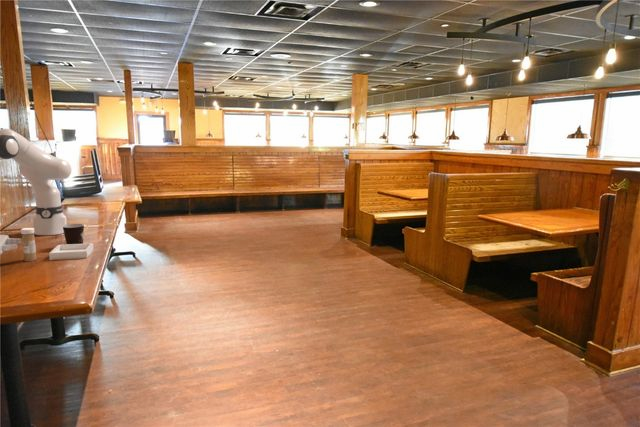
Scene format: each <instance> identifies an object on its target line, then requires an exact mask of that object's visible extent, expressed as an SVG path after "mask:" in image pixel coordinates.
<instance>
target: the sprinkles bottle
mask: <svg viewBox="0 0 640 427" xmlns="http://www.w3.org/2000/svg"><path fill="white" fill-rule="evenodd" d="M20 233H21V242H22V252H23V261H25V262H32V261H36V260H37V247H36V241H35V240H36V239H35V234H34V228H33V227H24V228H23V227H22V228H21V229H20Z"/></svg>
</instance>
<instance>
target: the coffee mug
mask: <svg viewBox="0 0 640 427" xmlns="http://www.w3.org/2000/svg"><path fill="white" fill-rule="evenodd" d="M84 229H85V224H83V223H68V225H64V226H63V230H64V233H63V234H64V235H63V236H64V239H65V245H66V244H84V233H85V232H84Z"/></svg>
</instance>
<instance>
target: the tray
mask: <svg viewBox="0 0 640 427" xmlns="http://www.w3.org/2000/svg"><path fill="white" fill-rule="evenodd" d="M93 251H94V243H89V242H88V243H83V244H66V243H65V244H58V245H56V246H55V247H54V248H53V249H51V251H50V252H48V254H49V256H48V257H49V261H56V260H58V261H59V260H60V261H61V260H74V259H78V260H79V259H88V258H89V256H90V255H91V253H93Z"/></svg>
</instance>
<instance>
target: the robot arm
mask: <svg viewBox="0 0 640 427" xmlns="http://www.w3.org/2000/svg"><path fill="white" fill-rule="evenodd" d="M10 159H12V160H13V161H15V162H16V163H18V164H19V167H18V169H19V172H20V175H22V177H24V178H25V179H26V180H27V181H28V183H30V185H31V188H32V190H33V193H34V199H35V200H34V201H35V209H34V211H35V215H34V216H33V217H32V228H34V235H36V236H54V235H61V234H64V230H63V226H64V225H68V224H69V222H68V220H67V216H66V215H65V213H64V208H63V204H62V200H61V199H62V198H61V197H62V196H61V191H60V190H59V189H58V188H57V187H55V186H54V184H53V183H52V181H61V180H62V181H63V180H65V179H68V178H69V177H70V176H71V174H72V166H71V164H70V163H69V162H68V161H67V160H65V159H61V158H59V157H57V156H54V155H52V154H50V153H48V152H46V151H45V150H42V149H40V148H38V147H37V146H36V145H35V144H33V143H32V142H31V141H30V140H29V139H27V138H26V137H24V136H23V135H21V134H20V133H18V132H16V131H14V130H13V129H10V128H2V129H0V161H2V160H10ZM21 242H22V238H15V237H14V238H13V237H12V238H11V237H9V235H7V234H0V255H2V254H3V252H8V251H11V250H17V249H18V244H21Z"/></svg>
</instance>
